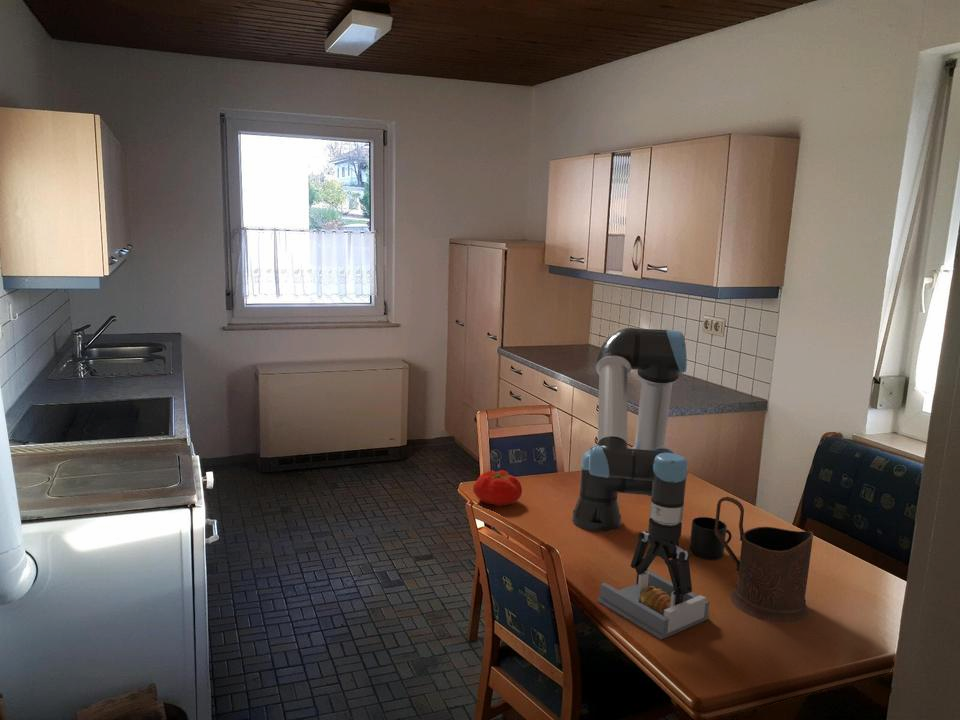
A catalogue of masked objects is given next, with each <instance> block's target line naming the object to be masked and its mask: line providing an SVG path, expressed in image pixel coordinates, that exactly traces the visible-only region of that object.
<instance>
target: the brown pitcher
mask: <svg viewBox="0 0 960 720" xmlns="http://www.w3.org/2000/svg"><path fill="white" fill-rule="evenodd" d="M723 502H730V503H732V504H735V505H736V506H737V507H738V509H739V511H740V514H739V520H738V521H739V522H738V528H739V537H740V539H739V541H740V542H741V546H740V556H739V558H738V557H737V556H736V554H735V553H734V551H733V550H732V549H731V547H730V546H729V545H728V544H729V543H726V542H725V541H726V539H725V540H724V539H723V537H722V536H721V535H720V533H719V531H718V525H719V520H720V516H721V515H720V514H721V508H722V507H721V506H722V503H723ZM744 514H745V508H744V505H743V504H742V503H741V502H740V501H739V500H737V499H735V498H734V497H730V496H725V497H721V498H720V499H719V500H718V501H717V504H716V514H715V519H716V521H715V535H716V537H717V538H718V539H719V541H720V542H721V543H722V545H723V546H724V550H726V552H727V554H729V557H731V559H732V560H733V561H734V563H735V565H736V568H735V571H736V572H738V575H737V583H736V584H735V588H734V589H733V590H732V591H731V592H730V596H729V599H730V602H731V603H732V604H733V606H734V607H735V608H736V609H737V610H739V611H740V612H742V613H743V614H745V615H747V616H749V617H751V618H755V619H757V620H760V621H763V622H768V623H773V624H779V625H793V624H797V623H802V622H804V621H805V620H807V619H808V617H809V616H810V611H809V610H810V609H809V608H808V606H807V602H806V601H807V599H806V592H807V585H808V578H809V577H808V576H809V569H810V562H811V555H812V546H813V541H814V540H813V539H814V532H813V531H811V530H808V531H807V530H806V531H805V530H804V531H797V530H790V529H784V528H779V527H774V526H757V527H753V528H751V529H747V530H746V531H745V530H744V527H743V524H744V518H745V516H744Z"/></svg>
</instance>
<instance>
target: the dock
mask: <svg viewBox="0 0 960 720" xmlns="http://www.w3.org/2000/svg"><path fill="white" fill-rule="evenodd" d="M645 572H647V573H649V577H648V586H654V587H655V588H656V589H662V590H663V591H664V592H667V594H668V595H669V596H671V593H672V592H673V591H674V587H673V584H672V581H670V580H668V579H666V578H664V577H663V576H660V575H658V574H657V573H655V572H653V571H651V570H649V569H647V571H645ZM599 588H600V589H599V597H597V602H598V603H600V604H601V603H602V604H601V605H603V606H605V607H606V608H607V609H610V610H611V611H613V612H614V613H616V614H618V615H619V616H621V617H622V618H624V619H625V620H627V621H629V622H631V623H632V624H635V625H636V626H637V627H639V628H641V629H643V631H646V632H647V633H649V634H650V635H652V636H654V637H655V638H658V639H659V640H663V639H665V638H668V637H671V636H673V635H675V634H678V633H680V632H682V631H684V630H686V629H689V628H691V627H694V626H696V625H698V624H701V623H702V622H705V621H707V620H709V618H710V614H709V610H710V609H709V608H710V601H709V600H707V598H706V596H703V594H700V595H697V594H695V593H693V592H690V593H688V594H685V595H684V598H683V602H682V603H680V604H677V605H675V606H673V607H670V608H668V609H665V610H664V615H663V614H659V613H657V612H656V611H654V610H652V609H650V608H649V607H647V606H645V605H643V604H642V602H641V601H639V600H637V592H638V585H637V583H635V584H632V585H630V586H626V587H624V588H623V587H622V588H621V589H618V588H616V587H614V586H613V585H610V584H608V583H606V582H602V583H600V587H599ZM679 588H680V587H679Z"/></svg>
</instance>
